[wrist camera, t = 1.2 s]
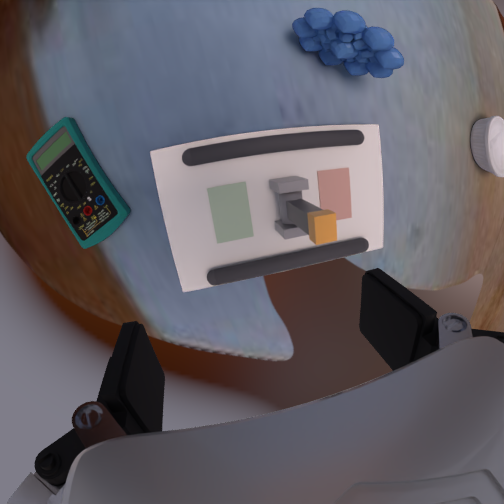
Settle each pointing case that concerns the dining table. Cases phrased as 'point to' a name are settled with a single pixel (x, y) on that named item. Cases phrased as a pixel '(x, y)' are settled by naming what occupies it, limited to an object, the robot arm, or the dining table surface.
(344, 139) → the pair of dark bars
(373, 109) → the dining table surface
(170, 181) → the switch base plate
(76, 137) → the digital multimeter
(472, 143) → the ramekin
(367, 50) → the grapes
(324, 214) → the breaker lever
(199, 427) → the robot arm
